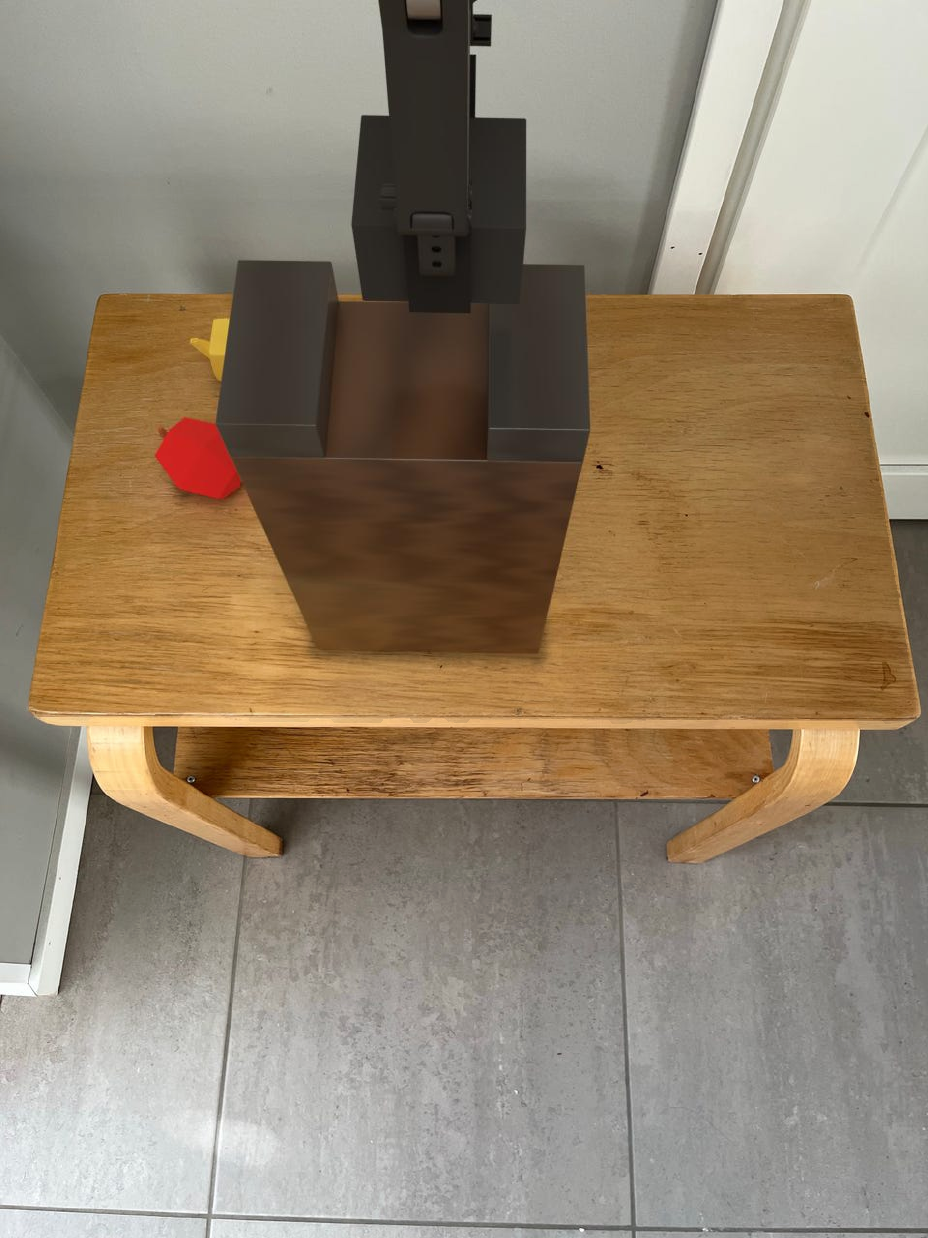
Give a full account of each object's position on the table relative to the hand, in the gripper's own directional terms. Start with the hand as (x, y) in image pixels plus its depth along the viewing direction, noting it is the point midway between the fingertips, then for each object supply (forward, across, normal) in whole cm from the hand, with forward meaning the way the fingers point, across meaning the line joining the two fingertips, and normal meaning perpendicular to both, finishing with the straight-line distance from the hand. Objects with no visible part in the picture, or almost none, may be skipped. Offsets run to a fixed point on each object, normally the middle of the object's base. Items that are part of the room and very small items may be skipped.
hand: (442, 245), depth 41 cm
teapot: (+38, -20, -20) cm, 47 cm away
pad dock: (+38, +2, -2) cm, 38 cm away
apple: (+38, -9, -22) cm, 45 cm away
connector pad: (0, 0, 0) cm, 0 cm away
